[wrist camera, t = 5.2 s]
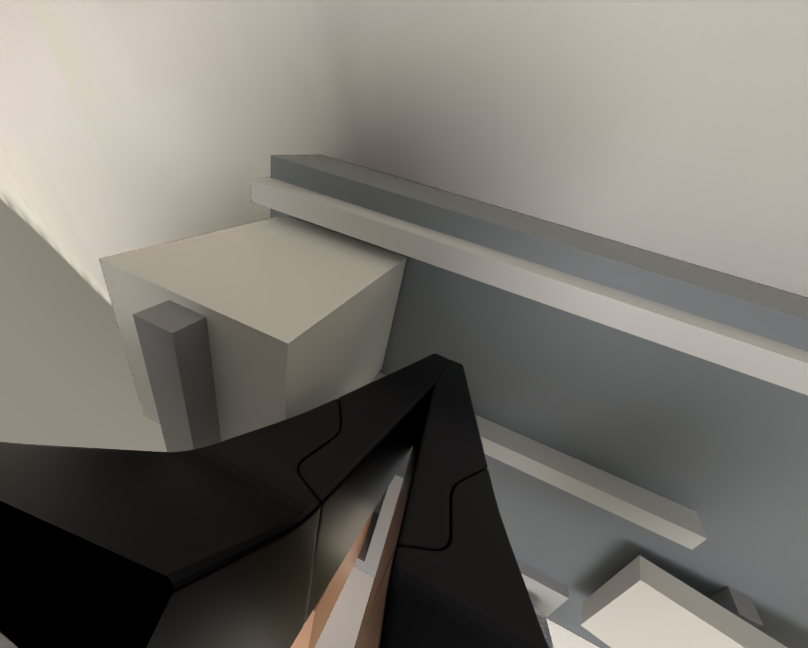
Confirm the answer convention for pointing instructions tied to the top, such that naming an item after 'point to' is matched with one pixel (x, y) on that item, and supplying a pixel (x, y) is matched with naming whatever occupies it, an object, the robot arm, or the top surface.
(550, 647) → the toggle
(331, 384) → the slider
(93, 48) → the top surface
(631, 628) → the rocker
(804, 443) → the panel
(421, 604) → the robot arm
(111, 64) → the top surface
